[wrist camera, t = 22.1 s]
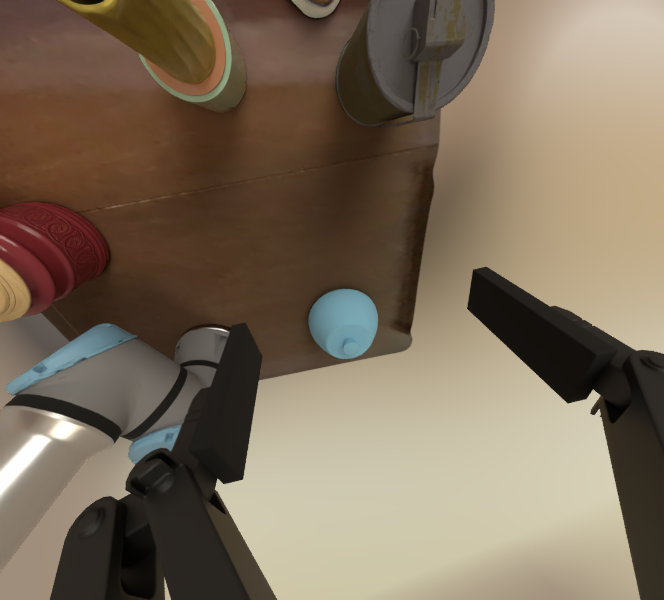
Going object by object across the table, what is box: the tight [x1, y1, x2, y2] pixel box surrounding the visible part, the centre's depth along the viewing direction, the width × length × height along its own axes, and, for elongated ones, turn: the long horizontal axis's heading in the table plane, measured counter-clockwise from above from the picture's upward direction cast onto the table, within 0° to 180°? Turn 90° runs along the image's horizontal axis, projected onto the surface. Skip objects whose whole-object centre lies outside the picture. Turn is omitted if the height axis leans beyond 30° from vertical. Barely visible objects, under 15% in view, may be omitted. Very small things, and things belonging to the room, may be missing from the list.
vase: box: [56, 0, 215, 84], centre depth 17 cm, size 6×6×14 cm
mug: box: [137, 0, 247, 112], centre depth 26 cm, size 9×12×9 cm
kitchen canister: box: [0, 202, 109, 322], centre depth 32 cm, size 13×13×18 cm
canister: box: [336, 0, 495, 128], centre depth 25 cm, size 11×10×20 cm
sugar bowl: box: [308, 289, 378, 359], centre depth 50 cm, size 15×15×12 cm
